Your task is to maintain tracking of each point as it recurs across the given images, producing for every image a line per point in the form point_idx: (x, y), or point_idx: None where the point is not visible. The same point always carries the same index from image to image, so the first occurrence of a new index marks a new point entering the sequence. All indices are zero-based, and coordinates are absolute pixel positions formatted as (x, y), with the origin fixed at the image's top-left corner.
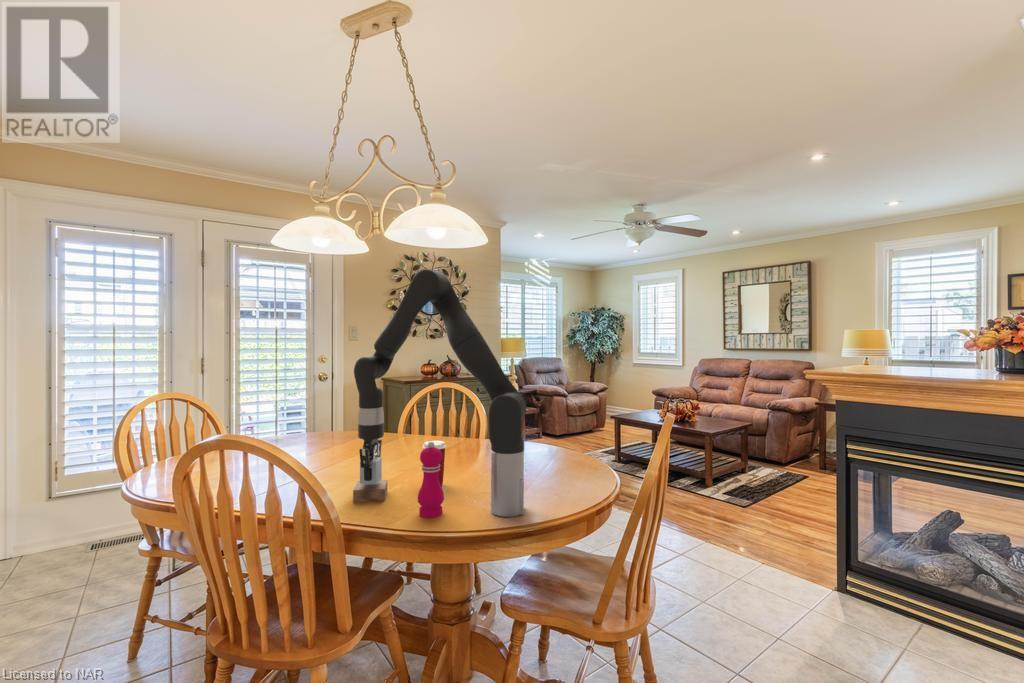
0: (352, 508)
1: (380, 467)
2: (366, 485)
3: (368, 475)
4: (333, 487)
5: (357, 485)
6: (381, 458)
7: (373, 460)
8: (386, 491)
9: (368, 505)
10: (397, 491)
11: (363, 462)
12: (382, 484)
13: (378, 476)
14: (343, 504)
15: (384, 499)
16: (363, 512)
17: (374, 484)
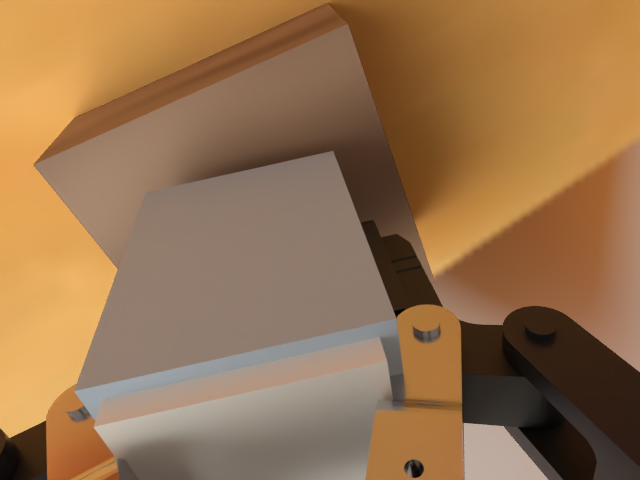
0: (518, 169)
1: (164, 274)
2: None
3: (417, 267)
4: None
5: None
6: (75, 388)
7: (381, 396)
8: (155, 87)
9: (450, 90)
10: (21, 16)
11: (536, 443)
12: (209, 131)
13: (263, 198)
14: (446, 262)
15: (329, 6)
16: (604, 44)
17: None
